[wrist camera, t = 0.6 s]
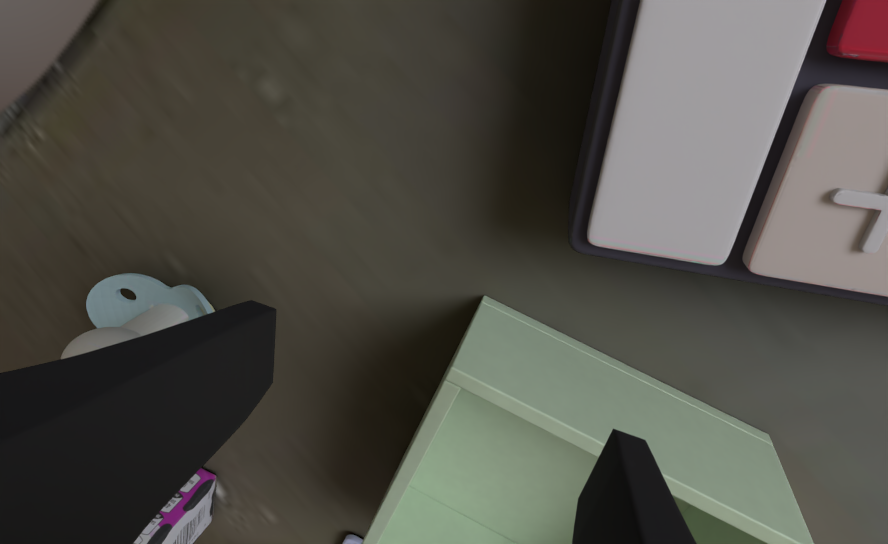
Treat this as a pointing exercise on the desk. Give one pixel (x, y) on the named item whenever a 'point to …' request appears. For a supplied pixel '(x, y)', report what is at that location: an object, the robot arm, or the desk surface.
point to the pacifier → (135, 310)
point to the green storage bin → (569, 447)
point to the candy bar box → (184, 513)
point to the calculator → (741, 143)
